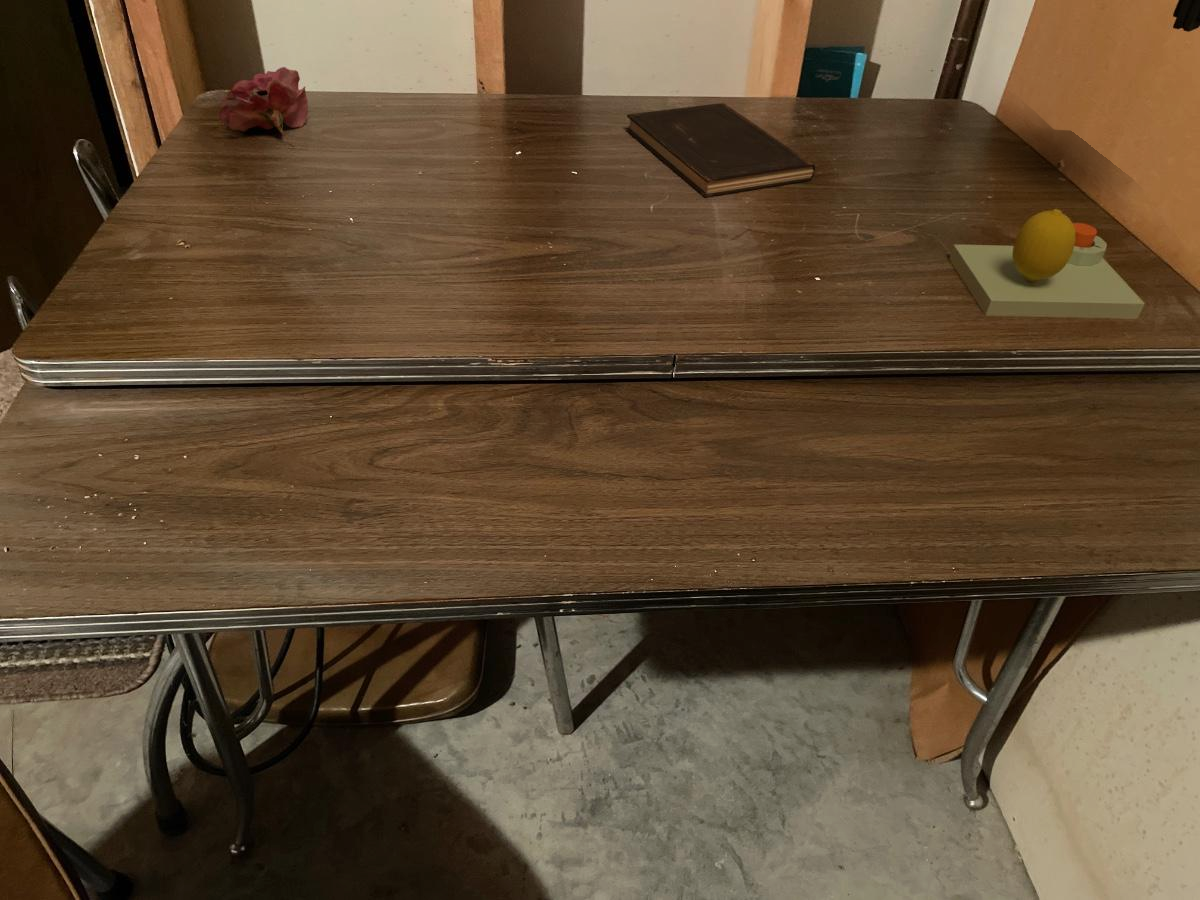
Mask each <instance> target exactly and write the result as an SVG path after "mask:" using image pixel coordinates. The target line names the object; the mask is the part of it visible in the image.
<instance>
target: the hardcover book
mask: <svg viewBox="0 0 1200 900" xmlns="http://www.w3.org/2000/svg"><path fill="white" fill-rule="evenodd" d="M626 117H627V118H628V119H629V127H628V128H625V131H626V132H628V134H630V135H631V136H632V137H633V138H634V139H635V140H637V141H638V142H639V143H640V144H642V145H643V146H644V147H645V148H646V149H647V150H648V151H650V152H651V153H652V154H653V155H654V156H655V157H657V158H658V159H659V160H660V161H661V162H662V163H664V164H665V165H666V166H668V167H669V168H670V169H671V170H672V171H673V172H675V173H676V174H677V175H678V176H679V177H680V178H682V179H683V180H684V181H685V182H686V183H687V184H689V185H690V186H691V187H692V188H693V189H694V190H696V191H697V192H698V193H699V194H700V195H701V196H702V197H704V198H713V197H718V196H724V195H730V194H735V193H736V194H737V193H742V192H748V191H754V190H759V189H761V190H762V189H768V188H775V187H780V186H785V185H786V186H787V185H792V184H793V185H794V184H798V183H805V182H809V181H811V180H812V179H813V178H814V176H815V172H816V165H815V164H814V163H812V162H811V161H809V160H808V159H807V158H805V157H804V156H802V155H801V154H799V153H797V151H795V150H793V149H792V148H791V147H789V146H788V145H786V144H784V143H783V142H782V141H780V140H779V139H777V138H776V137H774V136H773V135H771V134H770V133H769V132H767V131H766V130H764V129H763V128H761V127H760V126H758V125H757V124H755V123H754V122H752V121H751V120H749V119H748V118H746V117H745V116H744V115H742V114H740V113H739V112H737V111H736V110H735V109H733V108H732V107H731V106H729V105H727V104H726V103H724V102H718V103H711V104H704V105H693V106H686V107H678V108H669V109H661V110H653V111H645V112H635V113H630V114H626Z"/></svg>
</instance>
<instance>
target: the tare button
mask: <svg viewBox="0 0 1200 900" xmlns="http://www.w3.org/2000/svg"><path fill="white" fill-rule="evenodd" d="M1072 223H1073V222H1072ZM1073 225H1074V227H1075V234H1076V238H1075V246H1077V247H1082V248H1089V247H1091V245H1092V243H1093V241H1094V238H1095V236H1097V233H1098V230H1097V229H1096V228H1095V227H1094V226H1092V225H1090V224H1088V223H1082V222H1074V223H1073Z"/></svg>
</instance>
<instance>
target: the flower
mask: <svg viewBox="0 0 1200 900" xmlns="http://www.w3.org/2000/svg"><path fill="white" fill-rule="evenodd" d="M300 80H301V78H300V74H299V71H297V70H296V69H289V68H287V67H286V66H282V67H279V68H278V69H276V70H275V71H273V70H272V71H271V70H267V71H266V73H262V72H261V73H257V74H255V75H254V76H253V80H247V79H243V80H239V81H238V82H236V83H235V84H234V86H233V88H232V89H230V90H229V91H228V92H227V97H224V99H223V100H222V102H221V108H219V114H218V115H219V116H218V117H219V119H220V121H221V123H223V124H224V126H225V127H226V128H228V129H229V130H231V131H241V132H243V133H246V132H247V131H248V130H249V129H251V128H255V127H259V128H262V129H265V130H267V131H268V130H271V129H273V128H275V129H277V130H278V132H279V133H280V134H281V135H282V136H284V138H286V140H287V141H288V142H289V144H290V145H291V146H293V147H295V145H294V144H293V143H292V141H291V140H289V139H288V138H287V137H286V136H285V134H284V131H283V126H284V124H285V126H288V127H290V128H291V129H294V128H301V127H303V126H304V124H306V122H307V119H308V114H309V113H308V112H309V105H308V97H307V93H306V86H305V85H304V87H302V88H301V89H299V83H300Z"/></svg>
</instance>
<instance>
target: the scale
mask: <svg viewBox="0 0 1200 900" xmlns="http://www.w3.org/2000/svg"><path fill="white" fill-rule="evenodd" d="M1013 246H1014V245H1000V244H999V245H997V244H996V245H993V244H992V245H991V244H953V245H952V249H951V251H950V254H949V258H948V260H949V261H950V263H951V264H952V266H953V268H954V269H955V271H956V272H957V274H958V275H959V277H960V279H961V280H962V281H963V283H964V285H965V286H966V288H967V289H968V291H969V292H970V294H971V295H972V297H973V298H974V300H975V301H976V303H977V305H978V306H979V308H980V309H981V311H982V312H983V314H984V315H985V316H990V317H992V316H993V317H994V316H995V317H1035V318H1036V317H1037V318H1038V317H1039V318H1040V317H1041V318H1042V317H1043V318H1082V319H1083V318H1084V319H1086V318H1087V319H1127V320H1128V319H1131V320H1133V319H1134V320H1137V319H1139V316H1140V314H1141V312H1142V310H1143V309H1144V306H1145V302H1144V301H1143V300H1142V299H1141V298H1140V297H1139V295H1138V294H1137V293H1136V292H1135V291H1134V290H1133V289H1132V288H1131V286H1129V285H1128V283H1127V282H1126V281H1125V280H1124V279H1123V278H1122V276H1120V275H1119V274H1118V273H1117V272H1116V270H1115V269H1114V268H1113V267H1112V266H1111V265H1110V264H1109V263H1108V262H1107V261H1106V259H1105V258H1104V255H1105V252H1106V251H1107V246H1108V244H1107V242H1106V241H1105V240H1104V239H1103V238H1102V237H1100V236H1098V235H1096V236H1095V238H1094V241H1093V243H1092V245H1091V247H1089V248H1082V247H1077V246H1074V250H1073V252H1072V255H1071V257H1070V259H1069V261H1068V262H1067V264H1066V265H1065V267H1064V268H1063V269H1062V270H1061V271H1060V272H1058V273H1057V274H1055V275H1054V276H1052V277H1049V278H1046V279H1038V280H1036V281H1033V282H1030V281H1028V280H1027V279H1026V277H1025V276H1024V275H1023V274H1021V273H1020V272H1019V271H1018V270H1017V268H1016V267H1015V264H1014V261H1013V255H1012V254H1013Z"/></svg>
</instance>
